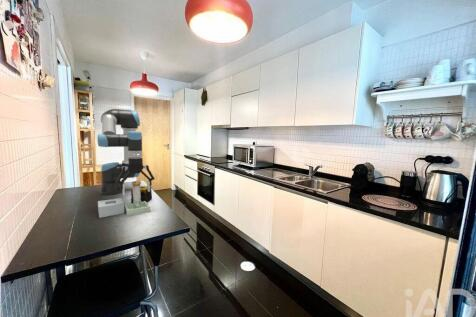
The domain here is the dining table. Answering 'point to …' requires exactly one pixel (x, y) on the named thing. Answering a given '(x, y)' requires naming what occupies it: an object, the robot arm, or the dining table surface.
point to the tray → (131, 211)
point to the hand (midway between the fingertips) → (136, 193)
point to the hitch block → (110, 207)
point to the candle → (143, 194)
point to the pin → (136, 194)
